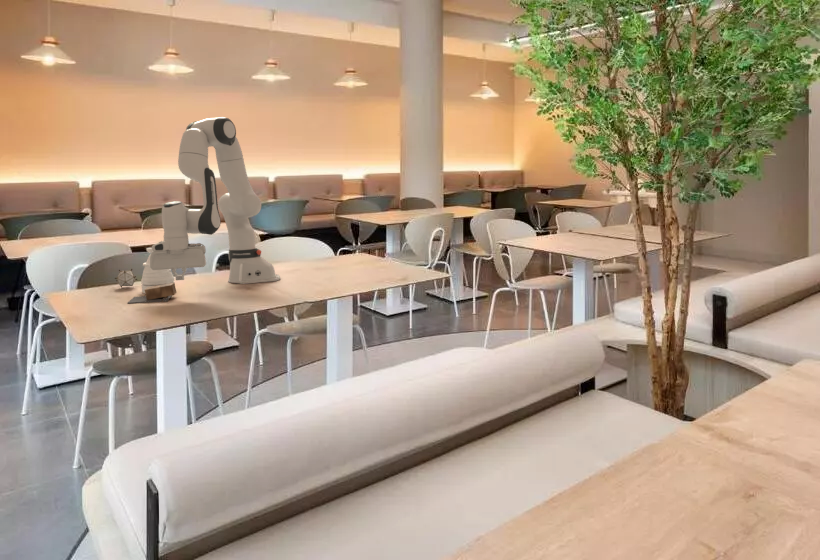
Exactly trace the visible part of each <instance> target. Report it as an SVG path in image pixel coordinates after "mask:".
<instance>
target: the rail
mask: <svg viewBox="0 0 820 560" xmlns="http://www.w3.org/2000/svg"><path fill="white" fill-rule="evenodd" d="M171 298H172V296H167V297H164V299H163V300H162V301H163V302H164V303H165V302H167V303H168V301H169V300H170V299H171Z"/></svg>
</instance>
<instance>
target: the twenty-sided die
mask: <svg viewBox="0 0 820 560" xmlns="http://www.w3.org/2000/svg"><path fill="white" fill-rule="evenodd" d="M114 279H115V280H116V282H117V283H118V285H119V286H120V287H121V288H123V287H122V286H133V287H134V283H135V282H136V280H138V278H137V276H135V275H134V273H133V268H131V269H129V270H120V269H118V274H117V276H116V277H114Z"/></svg>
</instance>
